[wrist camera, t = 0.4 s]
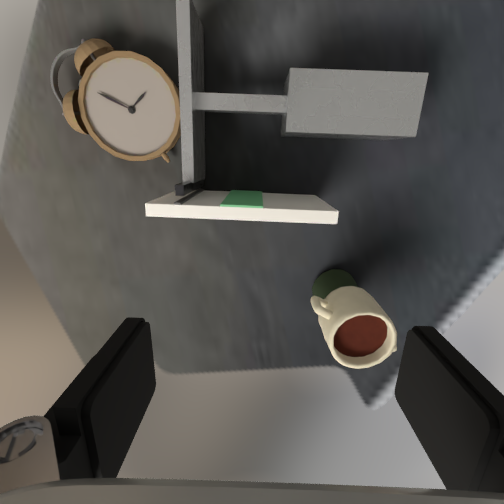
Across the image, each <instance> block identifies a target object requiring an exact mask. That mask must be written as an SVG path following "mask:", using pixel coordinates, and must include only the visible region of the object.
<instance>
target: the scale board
mask: <svg viewBox="0 0 504 504" xmlns="http://www.w3.org/2000/svg"><path fill="white" fill-rule="evenodd" d="M145 208H146V216H153V217H177V218H201V219H225V220H249V221H273V222H297V223H321V224H337V220H338V212H339V211H337V210H336V209H334V208H333V207H332V206H330V205H329V204H327V203H326V202H324V201H323V200H322V199H320V198H319V197H317V196H316V195H305V194H280V193H262V191H244V190H231V191H206V190H204V189H198V190H194V191H192V192H190V193H189V194H187V195H185V196H175V191H174V192H172V193H169V194H167V195H164V196H162V197H160V198H157V199H155V200H152V201H150V202H147V203H145Z"/></svg>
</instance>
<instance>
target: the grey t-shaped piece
mask: <svg viewBox="0 0 504 504" xmlns="http://www.w3.org/2000/svg"><path fill="white" fill-rule="evenodd" d="M176 15H177V42H178V69H179V95H180V122H181V149H182V176H183V182H182V183H179V184H176V185H175V196H185V195H187V194H189V193H190V192H192V191H194V190H196V189H198V188H200V187H202V186H204V179H205V112H223V113H250V114H277V115H286V103H287V96H282V95H255V94H228V93H204V27H203V25H202V23H201V20H200V18H199V16H198V13H197V11H196V9H195V7H194V4H193V2H192V0H176Z"/></svg>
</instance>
